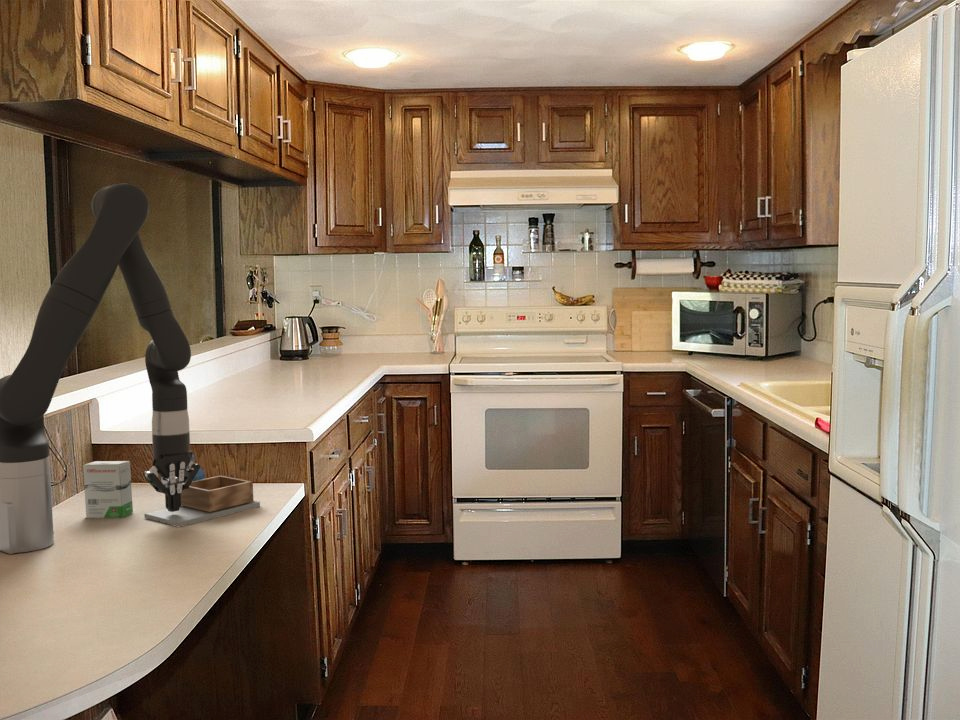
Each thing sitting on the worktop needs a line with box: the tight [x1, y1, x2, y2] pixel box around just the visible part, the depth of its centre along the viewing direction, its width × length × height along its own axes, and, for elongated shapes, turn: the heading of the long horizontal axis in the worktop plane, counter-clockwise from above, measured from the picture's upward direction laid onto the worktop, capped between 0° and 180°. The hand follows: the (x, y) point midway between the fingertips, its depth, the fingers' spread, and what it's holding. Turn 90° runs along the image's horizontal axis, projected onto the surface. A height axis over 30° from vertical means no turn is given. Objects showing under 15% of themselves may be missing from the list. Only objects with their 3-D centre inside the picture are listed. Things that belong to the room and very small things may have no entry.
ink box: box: [82, 460, 134, 519], centre depth 190 cm, size 9×5×12 cm, turn 84°
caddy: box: [181, 475, 254, 512], centre depth 194 cm, size 12×12×4 cm
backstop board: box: [144, 482, 261, 527], centre depth 192 cm, size 21×12×5 cm, turn 143°
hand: (173, 510), depth 186 cm, fingers closed
